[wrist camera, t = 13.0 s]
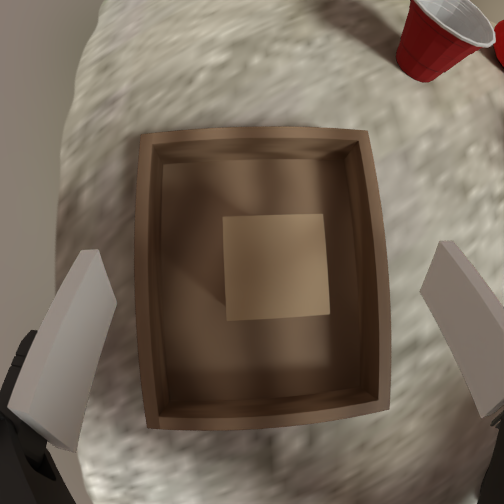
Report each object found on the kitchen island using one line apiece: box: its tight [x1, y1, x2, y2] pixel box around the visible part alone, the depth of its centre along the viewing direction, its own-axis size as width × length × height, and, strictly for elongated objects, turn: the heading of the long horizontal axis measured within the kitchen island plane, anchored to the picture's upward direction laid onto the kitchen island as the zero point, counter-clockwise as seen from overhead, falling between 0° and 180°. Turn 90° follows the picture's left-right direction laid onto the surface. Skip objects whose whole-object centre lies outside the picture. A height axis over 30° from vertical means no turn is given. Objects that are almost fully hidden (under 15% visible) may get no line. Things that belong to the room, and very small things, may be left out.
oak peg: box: [223, 214, 330, 321], centre depth 20 cm, size 5×5×10 cm
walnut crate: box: [134, 127, 391, 431], centre depth 24 cm, size 18×22×5 cm
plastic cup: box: [396, 0, 496, 82], centre depth 24 cm, size 11×11×12 cm
